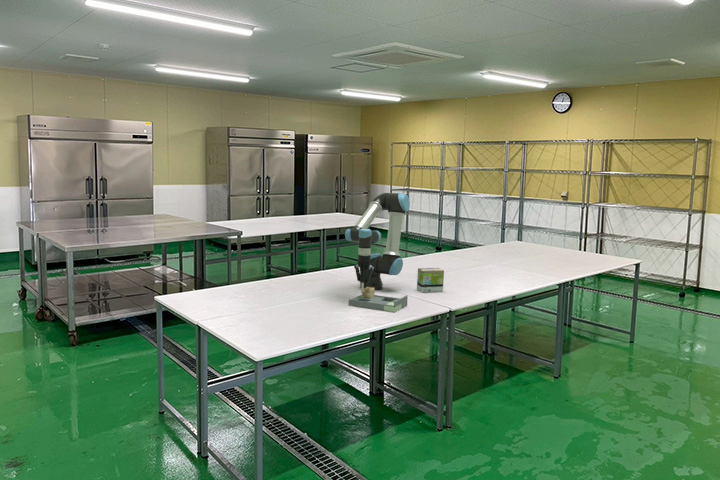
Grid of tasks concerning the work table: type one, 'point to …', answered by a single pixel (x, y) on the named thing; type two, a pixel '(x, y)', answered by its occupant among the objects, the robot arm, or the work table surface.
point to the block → (368, 292)
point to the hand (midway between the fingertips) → (363, 292)
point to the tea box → (430, 279)
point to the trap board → (380, 303)
